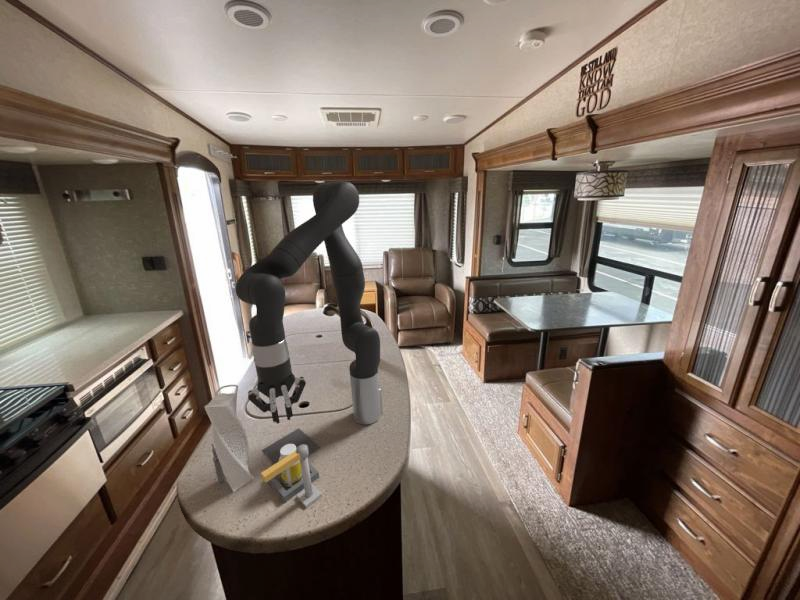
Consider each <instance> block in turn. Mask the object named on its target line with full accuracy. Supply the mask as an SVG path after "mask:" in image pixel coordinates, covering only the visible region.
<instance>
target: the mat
mask: <svg viewBox="0 0 800 600" xmlns="http://www.w3.org/2000/svg"><path fill="white" fill-rule="evenodd" d="M287 444H294V445H295V446H296V449H297V447H298V446H300V445H303V444H305V445H307V446H308V452H309V455H311V454H312V453H314V452H316V451H317V450H319V449H320V448H321V447H320V445H319V444H318V443H316V442H315V441H314V440H313V439H312V438H311V437H309V436H308V434H306V433H305V432H304V431H303V430H302V429H300V428H297V429H295V430H293V431H292V432H290V433H288V434H286V435H285V436H283V437H281V438H280V439H278V440H276V441H275V442H273V443H271V444H269V445H268V446H266V447H264V448H262V452H263V453H264V454H265V455H266V456H267V457H268V458H269V460H270V461H271V462H272V464H273V465H274V464H276V463H277V462H279V458H280V456H281V455H280V450H281V448H282V447H283V446H285V445H287ZM309 455H308V456H309Z"/></svg>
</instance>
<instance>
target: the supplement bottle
mask: <svg viewBox="0 0 800 600" xmlns="http://www.w3.org/2000/svg"><path fill="white" fill-rule="evenodd" d="M294 451H296V446H295V445H294V444H287V445H285V446H283V447H282V448H281V450H280V455H281V456H280V458H279V461H280V460H282V459H284V458H285V457H287V456H288V455H290V454H291V453H293V452H294ZM280 476H281V481H282V483H283V485H284V486H285V487H288V488H291V487H292V486H294V485H295V484H297V483H298V482H299V481H301V480H302V479H303V477H302V471H301V465H300V460H299V461H297V462H296V463H294V464H293V465H291V466H290V467H288V468H287V469H286V470H284V471H283V472H281V475H280Z"/></svg>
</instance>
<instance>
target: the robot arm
mask: <svg viewBox="0 0 800 600" xmlns="http://www.w3.org/2000/svg"><path fill="white" fill-rule="evenodd" d="M312 202H313V203H312V204H313V205H312V206H313V208H314V212H315V214H314V215H313V216H311V217H310V218H309V219H308V220H306V221H304V222H303V223H301V224H300V225H299V226H297V227H295V228H294V229H292V230H291V231H290V232H288V233H287V234H286V235H285V236H284V237H283V238H282V239H281V240H280V241H279V242H278V243H277V244H276V245H275V246H274V248H273V249H272V250H271V251H270V252H269V253H268V254H267V255H266V256H264V257H263V258H261V259H260V260H258V261H256V262H255V263H254V264H252V265H251V266H250V267H248V268H247V269H246V270H245V271H244V272H243V273H242V274H241V275H240V276H239V278H238V280H237V281H236V284H235V294H236V297H238V299H239V300H240V301H242V302H244V303H246V304H249V305H252V306H253V305H254V306H255V308H256V315H254V316H252V317H251V318H250V320H249V322H248V327H249V328H248V329H249V334H250V340H251V343H252V355H253V362H254V365H255V371H256V376H257V377H256V378H257V384H256V388H253V390H248V391H247V398H248V401H249V402H251V403H252V404H253V405H255V407H257V408H258V409H259V410H260V411H262V412H263V413H266V412H271V417H272V422H273V423H276V424H280V419H279V418H280V417H279V412H278V411H279V410H278V407H277V401H276V399H277V398H280V397H283V401H284V409H285V414H286V415H285V416H286V419H287V421H290V420H291V418H292V417H293V407H292V406H293V405H294V404H298V402H299V400H300V398H301V396H302V393H303V391H304V389H305V386H306V384H307V381H306V380H305V377H304V376H300V377H296V376H295V375H294V373H293V372H292V370H293V369H292V364H291V357H290V349H289V346H288V342H287V339H286V334H285V333H286V332H285V328H284V326H285V325H284V314H285V305H286V289H285V286H284V284H283V282H282V280H281V279H285V278H290V277H292V276H294V275H295V274H296V273H297V272H298V271H299V270H300V268H301V267H303V265H304V264H305V262H306V261H307V260H308V258H309V257H310V256H311V255H312V254H313V253H314V252H315V250H316V249H317V248H318V247H319V246H320V245H321V244H322V243H323V242H324V245H325V250H326V255H327V259H328V263H329V269H330V274H331V279H332V284H333V287H334V291H335V298H336V302H337V303H336V304H337V308H338V311H339V312H338V313H339V318H340V319H339V320H340V330H341V338H342V342H343V345H344V346H345V348H347V349H348V350H350V351H351V352H352V353H354V354H355V359H354V360H353V361H351V363H350V365H349V366H348V367H349V368H348V369H349V378H350V390H351V400H352V401H351V402H352V415H353V419H354V421H355V422H356V423H358V424H359V425H364V426H365V425H371V424H375V423H376V422H377V421H378V420H379V419H380V418H381V415H382V414H383V412H384V411H383V395H382V392H383V391H382V389H381V387H380V380H379V378H380V377H379V366H380V363H381V339H380V338H381V337H380V335H379V332H378V331H377V330H376V329H375V328H373V327H371V326H368V325H366V324H365V323H364V321H363V316H362V311H361V302H362V299H363V295H364V292H365V290H366V289H365V288H366V281H365V280H366V279H365V274H364V267H363V264H362V263H363V262H362V260H361V258H360V256H359V255H358V253H357V252H356V250H355V248H354V247H353V246H352V245H351V243H350V242H349V239H348V238H347V235H346V234H345V232H344V227H343V224H344V223H346V222H347V221H348V220H349V219H350V218H351V217H353V216H354V214H355V213H356V212H357V210H358V208H359V206H360V194H359V191H358V189H357V188H356V186H355V185H354V184H353V183H352V182H350V181H345V180H340V181H339V180H338V181H328V182H323V183H319V184H317V185H316V186H315V188H314V189H313V194H312ZM293 385H294V386H295V387H294V390H293V392H292V394H291V396H290V395H289V392H290V391H291V389H292V387H293ZM260 393H261V394H263V395H264V396H265V397H267V398H268V400H269V403H268V402H266V401H265V400H264V399H262V397H261V394H260Z"/></svg>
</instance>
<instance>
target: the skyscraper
mask: <svg viewBox="0 0 800 600" xmlns="http://www.w3.org/2000/svg"><path fill="white" fill-rule="evenodd" d="M229 387H235V390H234V392H231V393H225V392H224V393H219V392H220V391H221V390H222V389H224V388H229ZM238 390H239V385H238V384H227V385H223V386H220V387H219V388H218V389H217V390H216V392H215V394H214V397H213V398H212V399H211V400H210V401H209V403H207V404H206V405H205V406H204V409H205V411H206V412H205V413H206V414H207V416H208V418H209V420H210V423H211V426H212V427H211V428H212V438H213V442H212V443H211V447H212V449H211V451H212V455H213V457H212V461H213V463H214V464H213V465H214V470H215V475H216V478H217V481H216V482H217V484H218V485H219V487H220V489H221V490H222V491H223V492H224V494H225V495H226V497H227V498H228V497H230V496H231V495H233V494H235V493H236V492H238V491H239V490H241V489H242V488H244V487H246V486H247V485H248V484H250V483H251V482H252V481H255V477H254V476H253V474H252V473H251V472H250V470H249V467H248V464H249V440H248V436H247V432H246V429H245V428H244V425H243V423H242V422H241V421H240V419H239V417H238V414H237V402H238V401H237V400H238Z"/></svg>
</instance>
